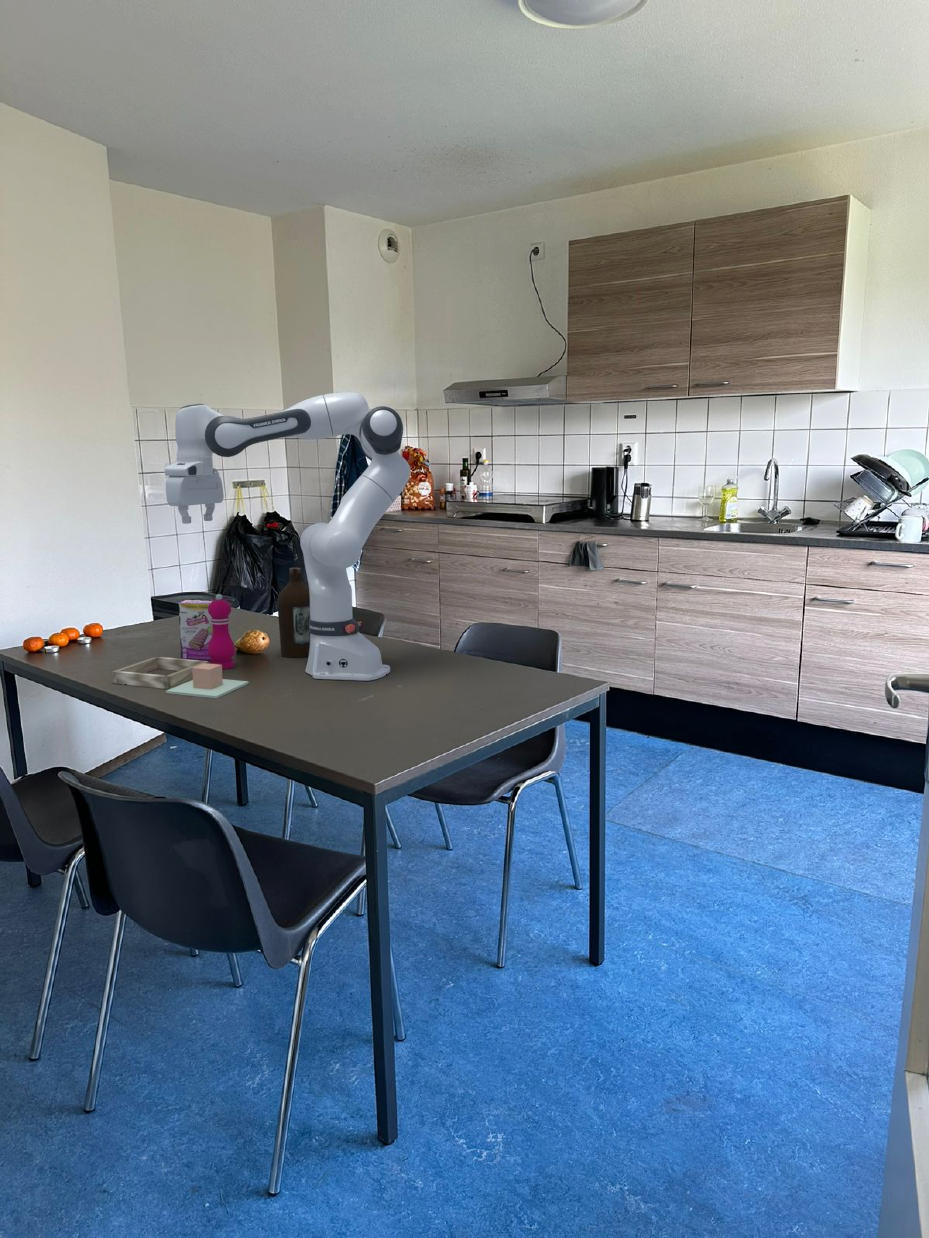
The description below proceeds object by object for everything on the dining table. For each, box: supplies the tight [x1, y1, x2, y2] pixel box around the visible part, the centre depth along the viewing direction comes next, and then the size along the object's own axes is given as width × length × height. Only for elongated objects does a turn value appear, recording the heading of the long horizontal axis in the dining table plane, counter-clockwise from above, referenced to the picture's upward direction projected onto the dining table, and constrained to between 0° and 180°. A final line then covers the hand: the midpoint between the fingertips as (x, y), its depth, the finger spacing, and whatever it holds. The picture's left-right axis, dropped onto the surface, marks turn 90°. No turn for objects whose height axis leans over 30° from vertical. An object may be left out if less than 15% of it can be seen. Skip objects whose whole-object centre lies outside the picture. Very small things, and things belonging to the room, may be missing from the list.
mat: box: [165, 678, 249, 699], centre depth 213 cm, size 14×14×1 cm
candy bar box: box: [178, 599, 213, 662], centre depth 241 cm, size 11×5×16 cm, turn 84°
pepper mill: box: [208, 593, 236, 670], centre depth 232 cm, size 7×7×20 cm
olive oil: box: [276, 567, 310, 659], centre depth 247 cm, size 11×11×25 cm
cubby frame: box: [111, 656, 210, 690], centre depth 222 cm, size 16×17×3 cm
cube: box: [192, 663, 223, 689], centre depth 212 cm, size 5×5×5 cm
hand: (197, 522), depth 226 cm, fingers open, 8 cm apart
